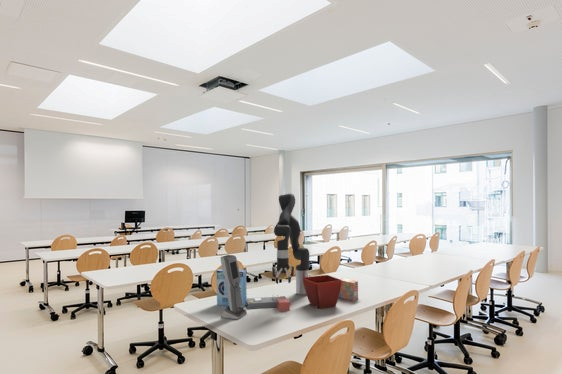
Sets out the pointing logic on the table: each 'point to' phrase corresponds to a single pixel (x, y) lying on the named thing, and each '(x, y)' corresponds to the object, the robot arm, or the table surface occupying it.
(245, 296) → the gum box
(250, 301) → the breaker panel
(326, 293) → the plant pot
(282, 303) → the cap
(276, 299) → the block
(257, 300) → the block
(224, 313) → the thermal camera
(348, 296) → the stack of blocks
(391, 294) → the table surface
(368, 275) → the table surface
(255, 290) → the table surface
